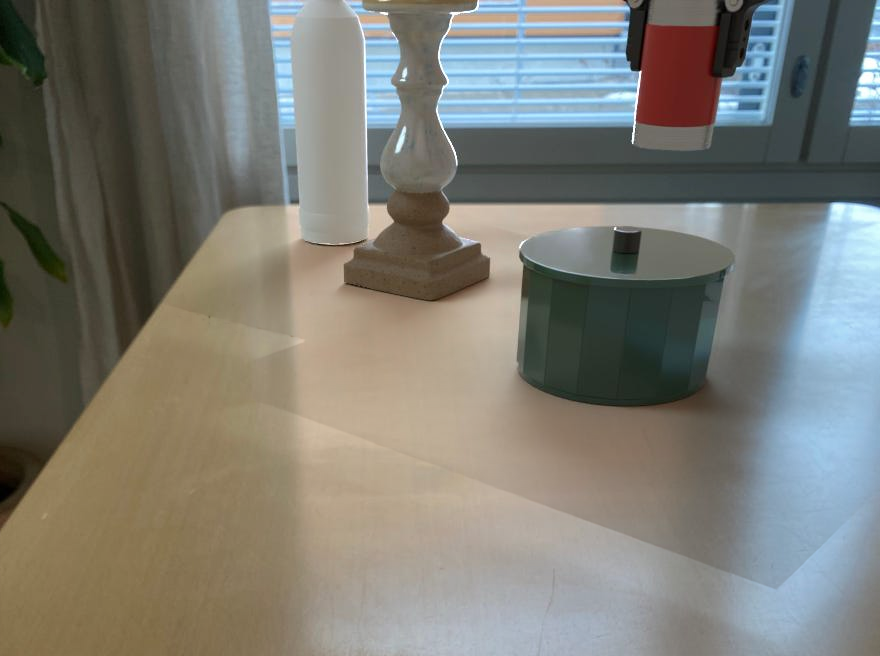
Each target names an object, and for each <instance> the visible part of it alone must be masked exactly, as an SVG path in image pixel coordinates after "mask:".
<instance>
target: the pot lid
mask: <svg viewBox="0 0 880 656" xmlns="http://www.w3.org/2000/svg"><path fill="white" fill-rule="evenodd" d="M518 258H519V260H520V262H521V263H522V265H523V264H524V265H526V266H527V267H528V268H530V269H532V270H534V271H536V272H539V273H541V274H544V275H547V276H550V277H553V278H557V279H561V280H565V281H569V282H575V283H580V284H587V285H594V286H603V287H613V288H631V289H660V288H676V287H686V286H693V285H699V284H704V283H708V282H711V281H715V280H718V279H720V278H723V277H724V276H725V277H726V276H728V275H729V274H731V273H732V272H733V270H734V268H735V264H736V263H735V262H736V256H735V254H734V252H733V251H732V250H731V249H730V248H728V247H727V246H725V245H723V244H721V243H719V242H717V241H714V240H712V239H708V238H706V237H702V236H698V235H694V234H690V233H685V232H679V231H676V230H675V231H674V230H667V229H661V228H651V227H641V226H640V227H639V226H632V225H621V226H619V225H597V226H596V225H595V226H593V225H592V226H579V227H577V226H576V227H568V228H561V229H555V230H550V231H545V232H541V233H538V234H536V235H533V236H530V237H528V238H527V239H525V240H524V241H522V242H521V244H520V245H519V252H518Z"/></svg>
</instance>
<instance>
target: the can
mask: <svg viewBox="0 0 880 656" xmlns="http://www.w3.org/2000/svg"><path fill="white" fill-rule="evenodd" d="M727 10H728V9H727V8H726V5H725V0H650V1H649V9H648V17H647V23H646V28H645V36H644V44H643V52H642V60H641V68H640V72H639V77H638V84H637V85H638V86H637V92H636V101H635V109H634V116H633V120H634V122H633V131H632V139H631V144H632V145H633V146H635V147H638V148H641V149H646V150H651V151H652V150H653V151H665V152H668V151H669V152H693V151H702V150H706V149H710V147H711V146H712V139H713V134H714V128H715V124H716V121H717V115H718V109H719V102H720V96H721V88H722V85H723V79H724V78H717V77H713V75H712V70H713V64H714V58H715V51H716V45H717V39H718V33H719V27H720V20H721V14H722V13H727Z"/></svg>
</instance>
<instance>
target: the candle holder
mask: <svg viewBox="0 0 880 656" xmlns="http://www.w3.org/2000/svg"><path fill="white" fill-rule="evenodd" d="M361 7H362V9H363V10H364V11H367V12H369V13H379V14H383V15H386V17H387V19H388V23H389V28H390V30H391V33H392V34H393V36H394V37H395V39H396V41H397V43H398V48H399V51H400V52H399V53H400V56H399V62H398V65H397V68H396V70H395V72H394V74H393V75H392V77H391V78H390V84H391V85H392V86H393V87H394V88H395V90H396V91H395V94H396V95H397V97H398V100H399V103H400V115H399V117H398V120H397V123H396V125H395V127H394V129H393V132H392V133H391V135H390V137H389V139H388V140H387V142H386V144H385V146H384V148H383V151H382V153H381V156H380V161H379V168H380V173H381V176H382V177H383V179H384V180H385V182H386V183H387V184H388V185H390V186H391V187H392V188H394V192H393V193H392V194H391V196H389V199H388V200H387V203H386V211H387V214H388V215H389V217H390V218H391V219H392V221H393V222H392V223H391V224H389V225H388V226H387V227H385V228H384V229H383V230H381V232H380V233H379V234H378V235H377V236H376V238H374V239H371V240H368V241H366V242H364V243H363V242H362V243H361V244H359V245H357V246H355V247H354V249H353V250H352V252H353V257H352V258H351V259H350V260H348V261H347V262H345V263H344V264H343V283H345V282H346V283H345V284H347V283H350V284H349V285H351V284H354V285H353V286H355V285H358V286H357V287H360V286H363V287H362V288H365V287H367V288H366V289H369V288H370V289H369V290H376V291H379V292H385V293H388V294H389V293H390V294H394V295H398V296H399V295H400V296H403V297H408V298H414V299H419V300H425V301H435V300H438V299H441V298H444V297H446V296H449V295H450V294H454V293H456V292H458V291H461V290H462V289H465V288H467V287H469V286H471V285H474V284H476V283H479V282H481V281H483V280H486V279H487V278H489V277H490V276H491V257H490V256H488V255H486V254H484V253H483V252H482V244H481V242H480V241H477V240H473V239H468V238H464V237H460V236H459V235H458V234H457V233H456V232H455V231H454V230H453V229H452V228H450V227H449V226H448V225H446V224H445V223H444V222H443V221H444V220H445V218H446V217H447V216H448V214H449V213H450V208H451V207H450V206H451V204H450V201H449V199H448V198H447V195H445V194H444V192H443V189H444V188H445V187H447V186H448V185H449V184H450V183H451V182H452V181H453V180H454V178H455V176H456V174H457V170H458V159H457V155H456V151H455V148H454V147H453V145H452V142H451V141H450V139H449V137H448V135H447V133H446V131H445V130H444V127H443V124H442V122H441V120H440V117H439V113H438V104H439V101H440V99H441V97H442V95H443V92H444V91H443V90H444V88H445V87H446V86H447V85H448V84H449V79H448V76H447V75H446V74H445V72H444V70H443V67H442V64H441V61H440V51H441V46H442V43H443V40H444V38H445V37H446V35H447V34H448V32H449V31H450V29H451V24H452V19H453V18H454V16H455V15H458V14H460V13H461V14H462V13H463V14H464V13H471V12H474V11H476V10H478V8H479V0H361Z"/></svg>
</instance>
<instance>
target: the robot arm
mask: <svg viewBox="0 0 880 656" xmlns="http://www.w3.org/2000/svg"><path fill="white" fill-rule="evenodd" d="M622 1H623V2H625V3H626V4H627V5H628V8H629V19H628V29H627V38H626V46H625V57H626V62H629V69H630V71H631V72H635V73H640V68H641V60H642V52H643V44H644V36H645V28H646V23H647V17H648V9H649V1H650V0H622ZM773 1H774V0H725V5H726V8H727V9H728V10H727V13H722V14H721V20H720V27H719V33H718V39H717V45H716V51H715V58H714V64H713V70H712V75H713V77H717V78H723V79H725V78H732V77H733V76H734V75H735V74H736V71H737V68H741V67H742V66H743V64H744V62H745V60H746V56H747V50H748V46H749V45H748V44H749V39H750V34H751V28H752V22H753V17H754V14H755V12H756V11H757V10H758V8H759V7H761V6H763V5H765V4H769V3H771V2H773Z"/></svg>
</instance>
